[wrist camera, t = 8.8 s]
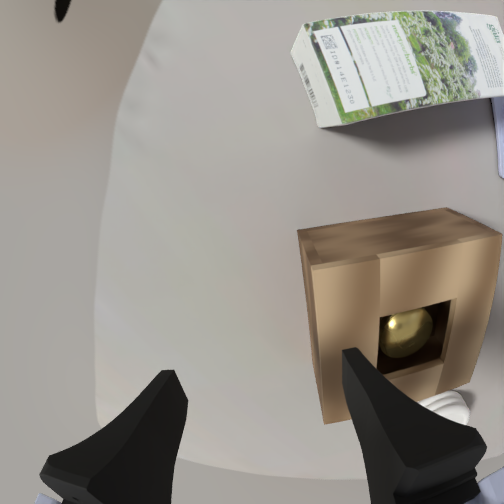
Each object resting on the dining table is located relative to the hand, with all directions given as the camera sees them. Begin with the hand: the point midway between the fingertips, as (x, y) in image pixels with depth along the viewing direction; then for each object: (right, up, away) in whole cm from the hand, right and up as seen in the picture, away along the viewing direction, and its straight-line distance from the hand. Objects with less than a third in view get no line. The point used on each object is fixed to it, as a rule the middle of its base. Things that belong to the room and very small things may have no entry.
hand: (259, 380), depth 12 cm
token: (+10, +2, +9) cm, 14 cm away
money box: (+10, +2, +10) cm, 14 cm away
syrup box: (+3, +15, +2) cm, 15 cm away
